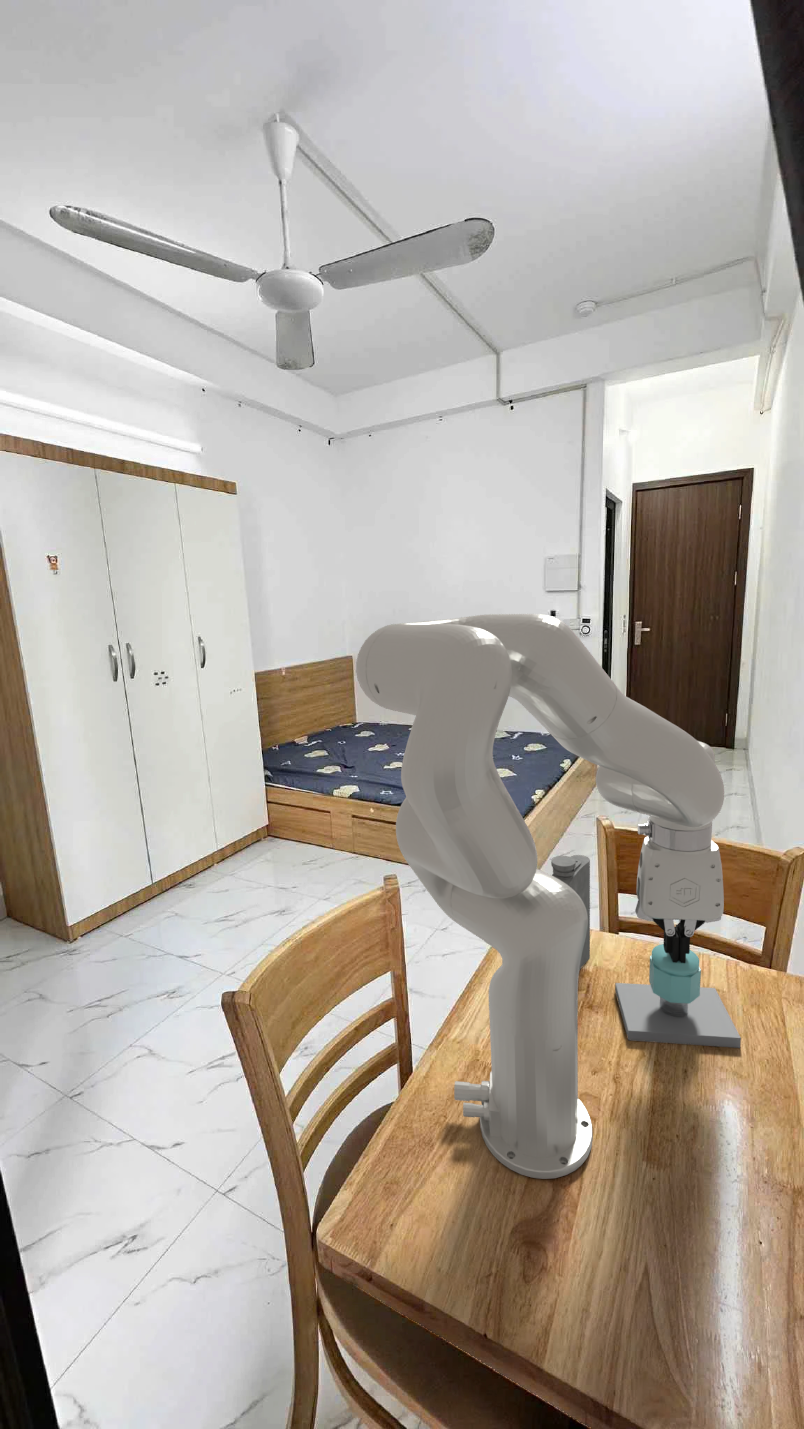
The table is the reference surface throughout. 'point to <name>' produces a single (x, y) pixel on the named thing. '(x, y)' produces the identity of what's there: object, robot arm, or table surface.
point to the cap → (674, 976)
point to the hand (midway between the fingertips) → (676, 956)
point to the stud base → (675, 1018)
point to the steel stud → (673, 1008)
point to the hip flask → (576, 886)
